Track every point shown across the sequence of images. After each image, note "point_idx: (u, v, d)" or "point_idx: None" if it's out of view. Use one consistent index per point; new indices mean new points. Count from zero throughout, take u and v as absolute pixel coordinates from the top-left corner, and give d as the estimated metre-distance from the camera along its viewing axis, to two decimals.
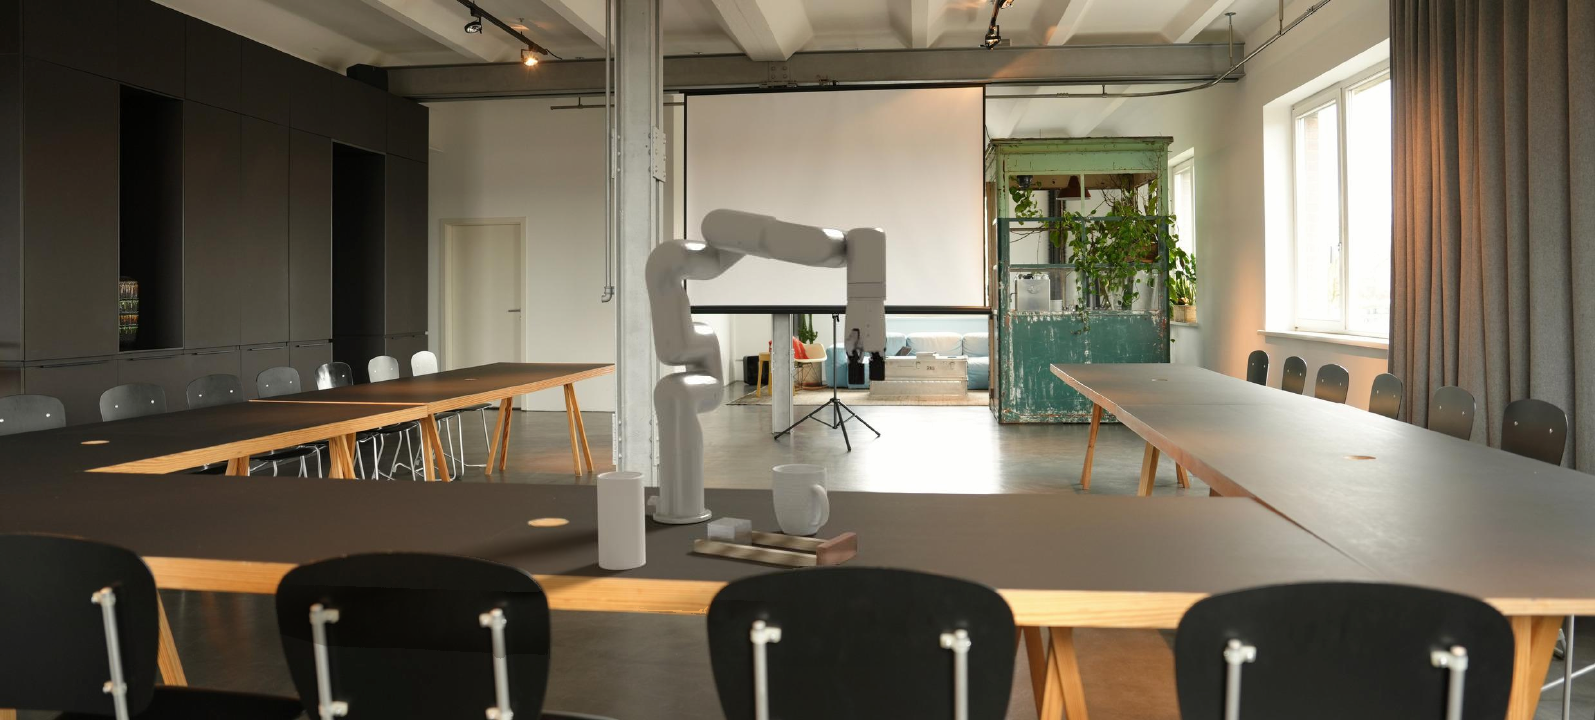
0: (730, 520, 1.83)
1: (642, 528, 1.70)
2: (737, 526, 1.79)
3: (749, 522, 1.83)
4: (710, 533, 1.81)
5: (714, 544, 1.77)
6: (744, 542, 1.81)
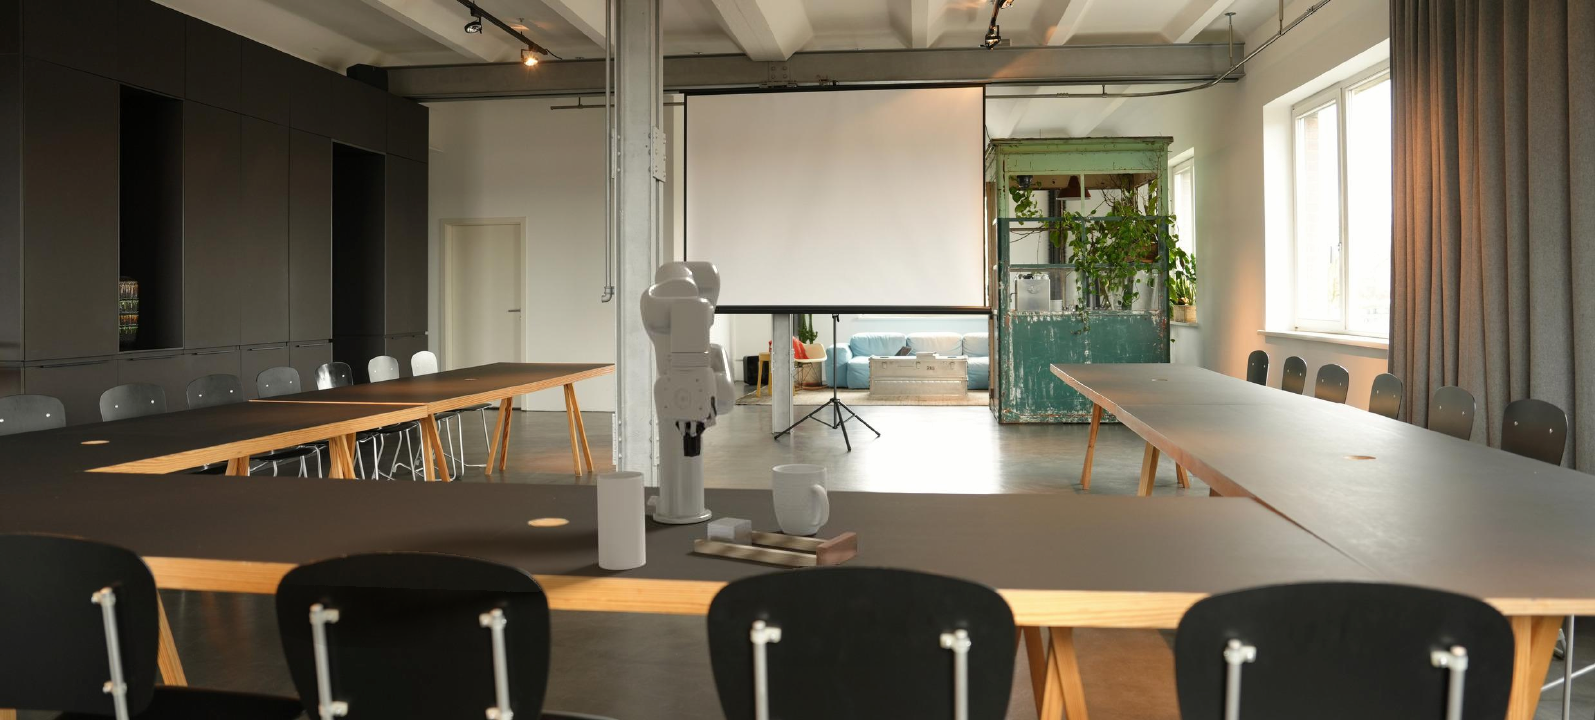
0: (730, 520, 1.83)
1: (642, 528, 1.70)
2: (737, 526, 1.79)
3: (749, 522, 1.83)
4: (710, 533, 1.81)
5: (714, 544, 1.77)
6: (744, 542, 1.81)
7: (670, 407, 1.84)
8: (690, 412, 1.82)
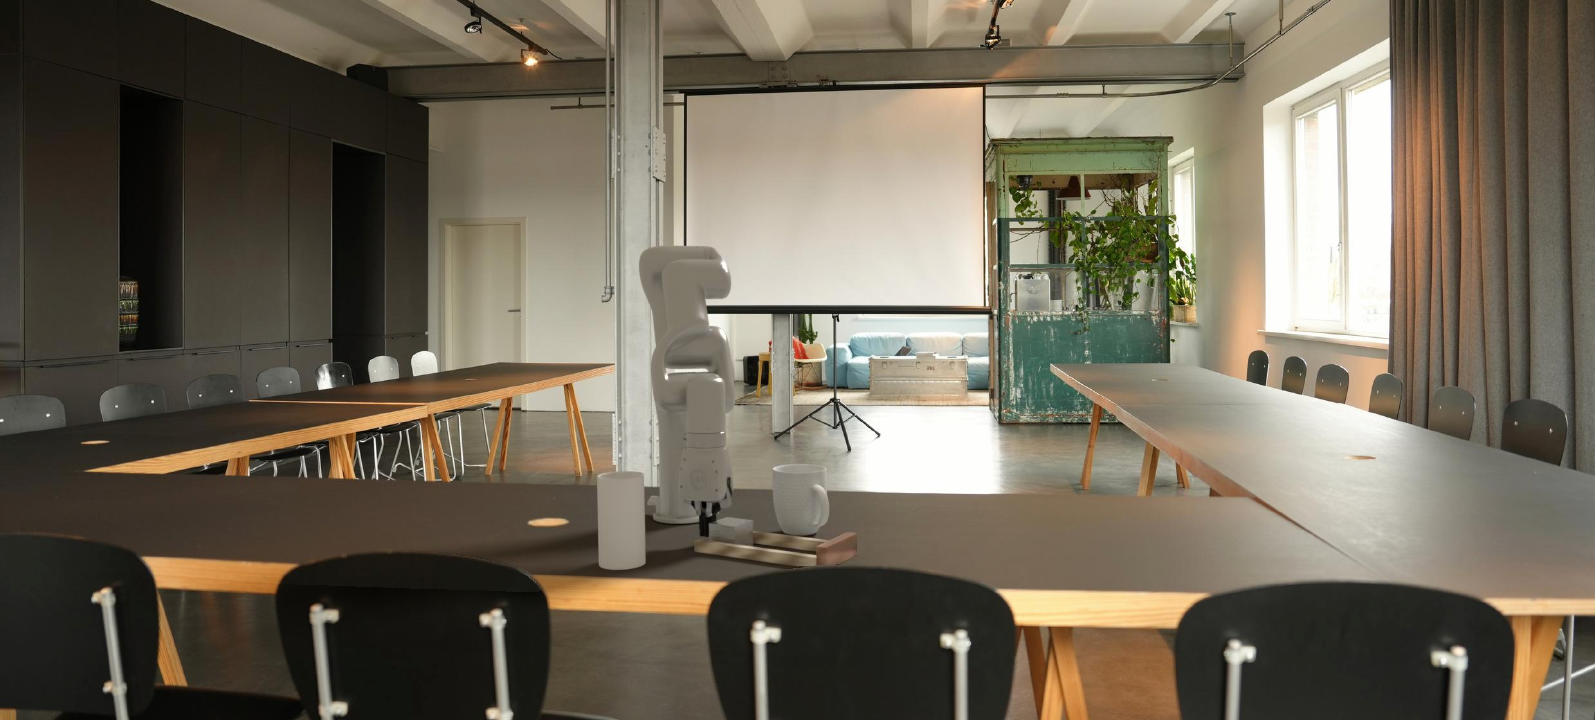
0: (732, 520, 1.83)
1: (642, 528, 1.70)
2: (738, 526, 1.79)
3: (751, 522, 1.82)
4: (711, 532, 1.81)
5: (714, 544, 1.77)
6: (746, 542, 1.81)
7: (686, 487, 1.83)
8: (706, 493, 1.81)
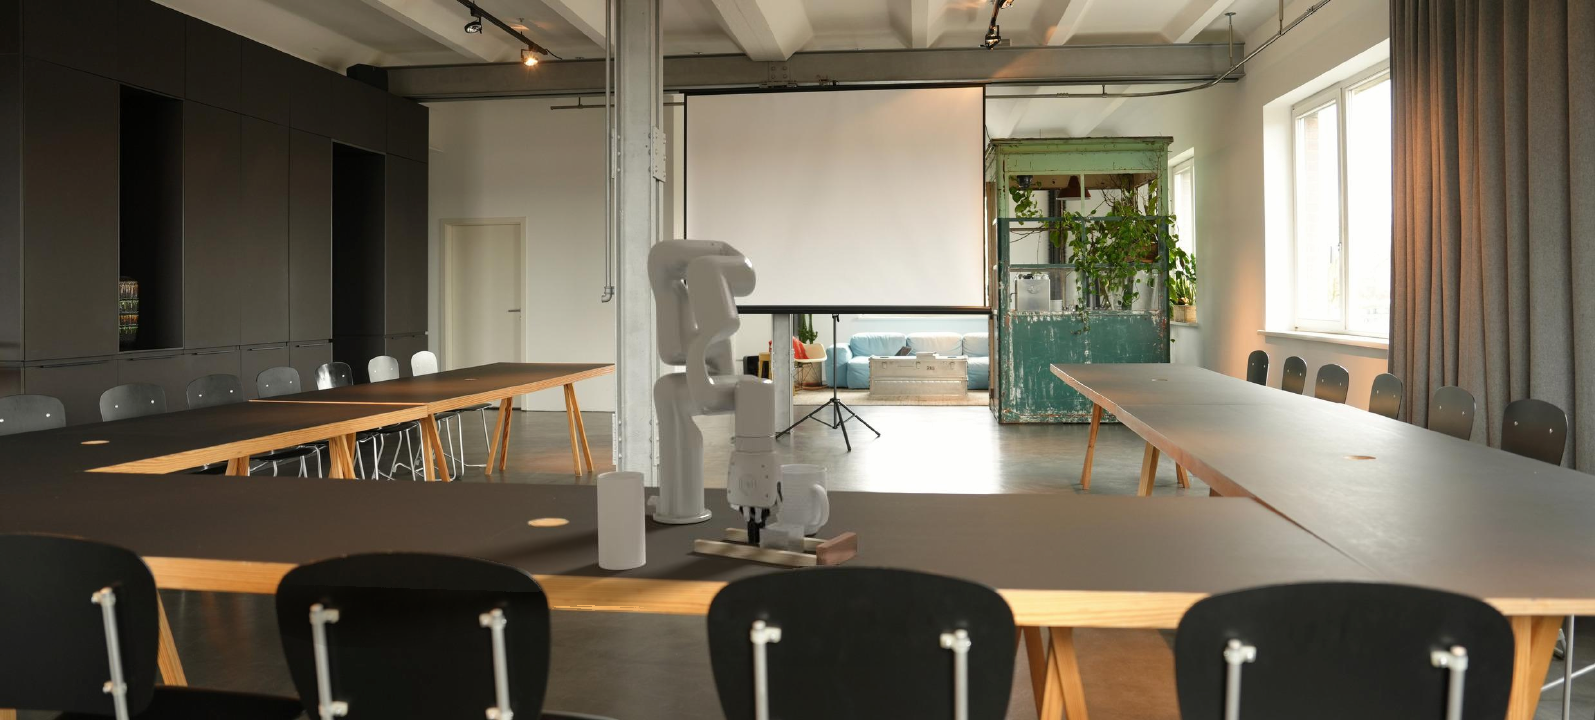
0: (782, 525, 1.78)
1: (642, 528, 1.70)
2: (791, 531, 1.74)
3: (802, 527, 1.77)
4: (762, 538, 1.75)
5: (714, 544, 1.77)
6: (798, 548, 1.76)
7: (734, 492, 1.78)
8: (756, 498, 1.75)
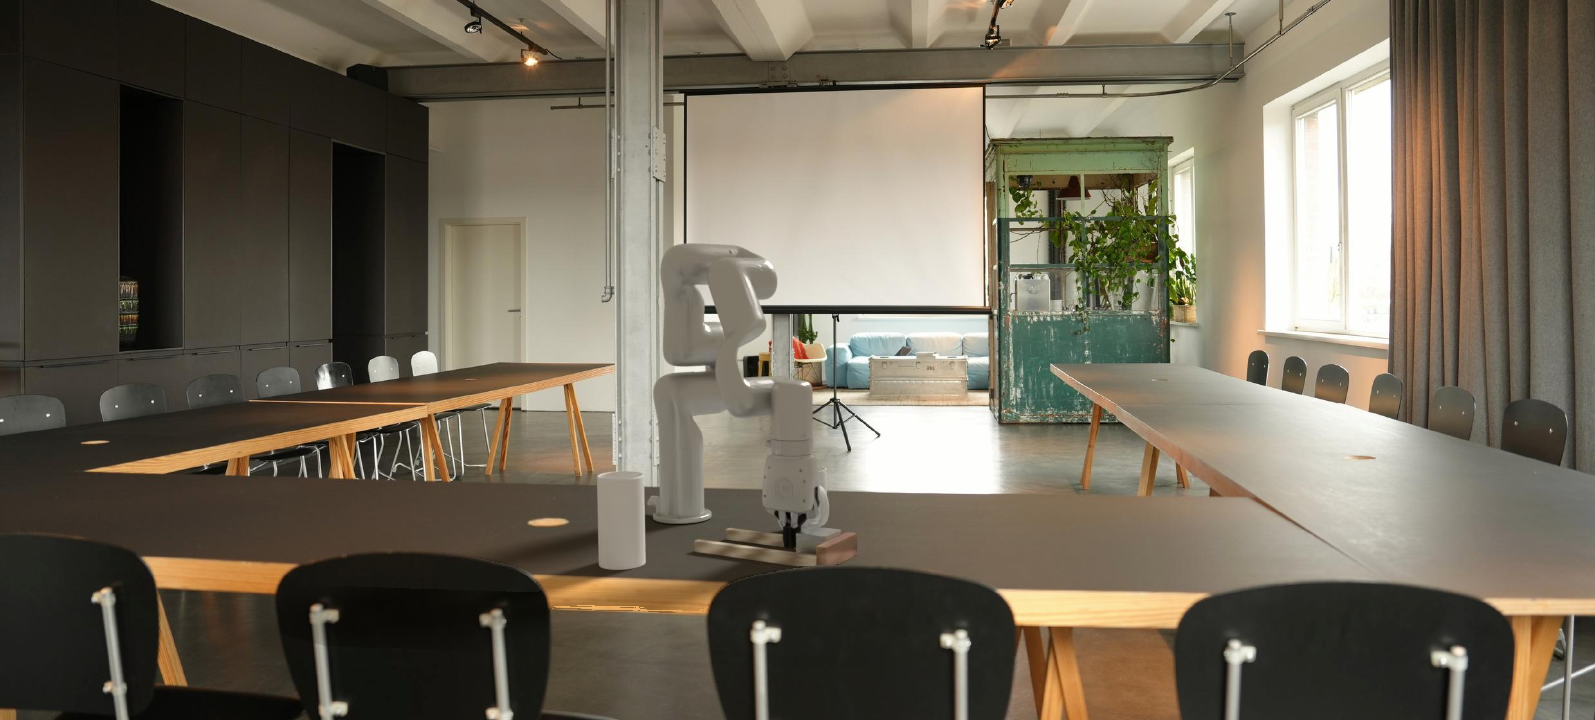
0: (819, 529, 1.74)
1: (642, 528, 1.70)
2: (828, 536, 1.70)
3: (839, 532, 1.74)
4: (799, 543, 1.72)
5: (714, 544, 1.77)
6: None
7: (770, 496, 1.74)
8: (792, 503, 1.72)
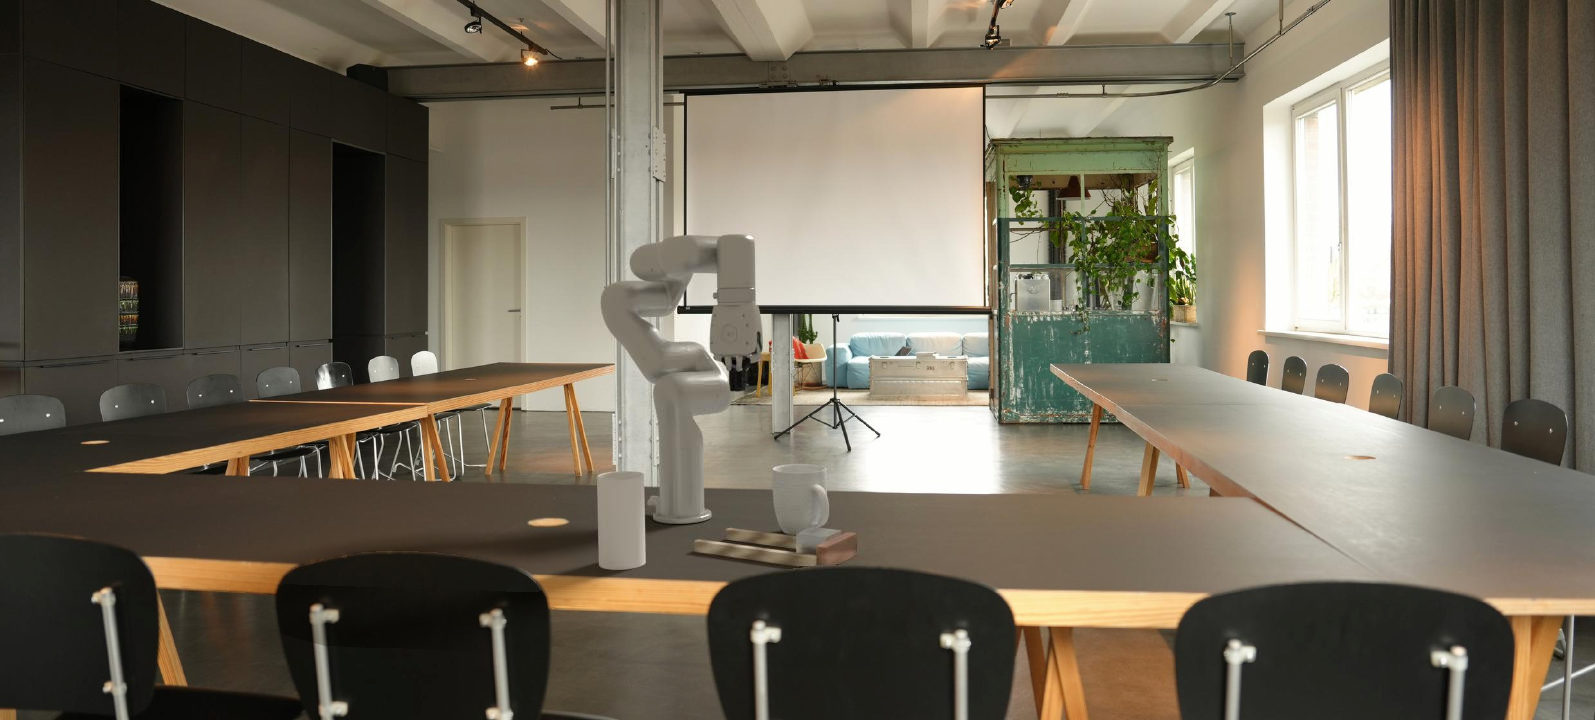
0: (819, 530, 1.74)
1: (642, 528, 1.70)
2: (828, 537, 1.70)
3: (839, 532, 1.74)
4: (799, 544, 1.72)
5: (714, 544, 1.77)
6: None
7: (716, 343, 1.88)
8: (736, 347, 1.85)
